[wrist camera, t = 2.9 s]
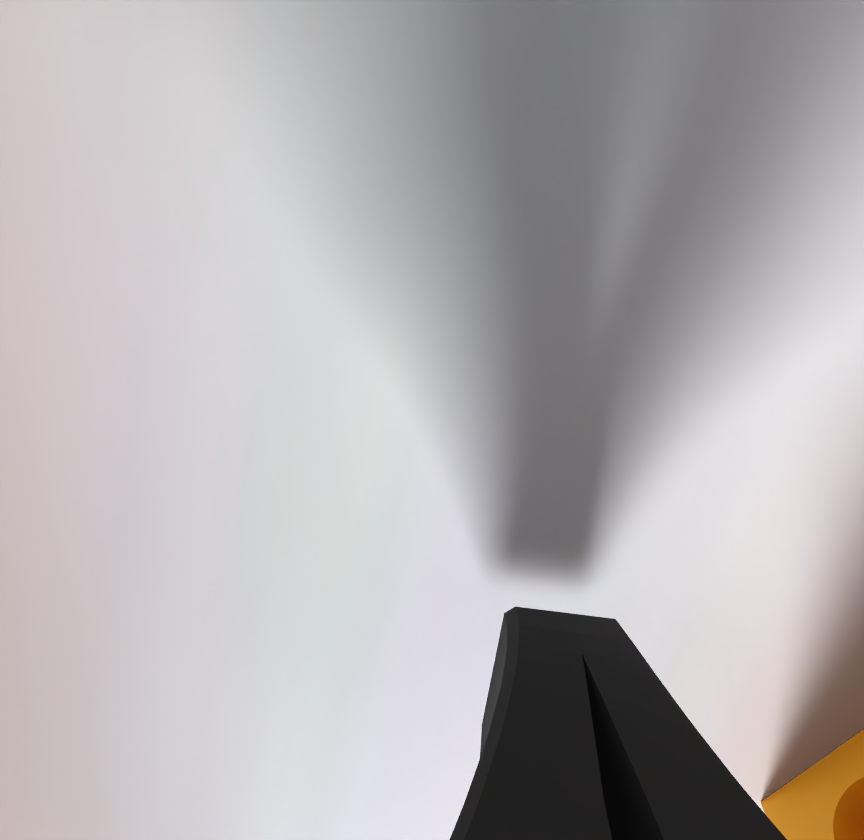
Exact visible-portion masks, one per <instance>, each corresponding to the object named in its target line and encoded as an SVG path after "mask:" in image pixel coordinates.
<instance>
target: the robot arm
mask: <svg viewBox="0 0 864 840" xmlns="http://www.w3.org/2000/svg"><path fill="white" fill-rule="evenodd" d="M450 840H787V839H786V838H785V837H784V835H783V834H782V833H781V832H780V831H779V830H778V828H777V827H776V826H775V825H774V824H773V823H772V822H771V820H770V819H769V818H768V817H767V816H766V815H765V813H764V812H763V811H762V810H761V809H760V808H759V807H758V805H757V804H756V803H755V802H754V801H753V800H752V798H751V797H750V796H749V795H748V794H747V792H746V791H745V790H744V789H743V788H742V786H741V785H740V784H739V783H738V782H737V780H736V779H735V778H734V777H733V775H732V774H731V773H730V772H729V770H728V769H727V768H726V767H725V765H724V764H723V763H722V761H721V760H720V759H719V758H718V756H717V755H716V754H715V753H714V751H713V750H712V749H711V747H710V746H709V745H708V744H707V742H706V741H705V740H704V738H703V737H702V736H701V735H700V733H699V732H698V731H697V730H696V728H695V727H694V726H693V724H692V723H691V722H690V720H689V719H688V718H687V716H686V715H685V714H684V712H683V711H682V710H681V708H680V707H679V706H678V704H677V703H676V702H675V700H674V699H673V697H672V696H671V695H670V693H669V692H668V691H667V689H666V688H665V687H664V685H663V684H662V682H661V681H660V680H659V678H658V677H657V676H656V674H655V673H654V671H653V670H652V669H651V667H650V666H649V664H648V663H647V662H646V660H645V659H644V658H643V656H642V655H641V653H640V652H639V651H638V649H637V648H636V646H635V645H634V644H633V642H632V641H631V640H630V638H629V637H628V635H627V634H626V633H625V631H624V630H623V629H622V627H621V626H620V625H619V623H618V622H617V621H616V619H610V618H602V617H594V616H586V615H578V614H570V613H562V612H554V611H546V610H538V609H530V608H521V607H514V608H512V609H511V610H509V611H507V612H506V613H504V618H503V623H502V628H501V633H500V638H499V643H498V648H497V653H496V658H495V663H494V668H493V673H492V678H491V683H490V688H489V693H488V698H487V703H486V708H485V713H484V718H483V723H482V736H481V752H480V760H479V763H478V766H477V769H476V772H475V775H474V778H473V780H472V783H471V786H470V789H469V792H468V795H467V798H466V800H465V803H464V805H463V808H462V811H461V813H460V816H459V818H458V821H457V823H456V826H455V828H454V831H453V833H452V835H451V838H450Z"/></svg>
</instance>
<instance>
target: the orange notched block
mask: <svg viewBox="0 0 864 840" xmlns="http://www.w3.org/2000/svg"><path fill="white" fill-rule="evenodd" d="M761 804H762V807H763V809H764V812H765V814H766V816H767V817H768V818H769V819H770V820H771V822H772V823H773V824H774V825H775V826H776V827H777V828H778V830H779V831H780V832H781V833H782V834H783V835H784V837H785V838H786V839H787V840H864V729H863V730H862V731H860V732H859V733H857V734H856V735H855V736H853V737H852V738H850V739H849V740H848V741H846V742H845V743H843V744H842V745H840V746H839V747H838V748H836V749H835V750H833V751H832V752H831V753H829V754H828V755H826V756H825V757H824V758H822V759H821V760H819V761H818V762H816V763H815V764H814V765H812V766H811V767H809V768H808V769H807V770H805V771H804V772H802V773H801V774H800V775H798V776H797V777H795V778H794V779H792V780H791V781H790V782H788V783H787V784H785V785H784V786H783V787H781V788H780V789H778V790H777V791H776V792H774V793H773V794H771V795H770V796H768V797H767V798H766V799H764V800H763V801H761Z"/></svg>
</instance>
